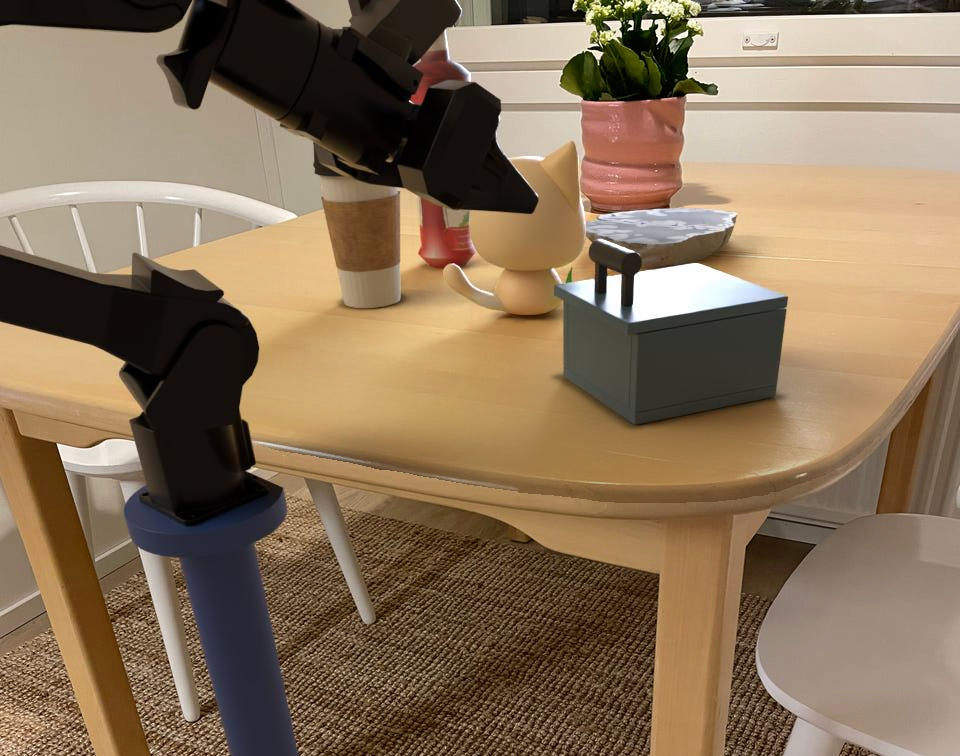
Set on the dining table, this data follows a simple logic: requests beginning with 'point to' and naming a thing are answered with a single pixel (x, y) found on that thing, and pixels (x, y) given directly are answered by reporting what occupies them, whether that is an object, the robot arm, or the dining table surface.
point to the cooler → (674, 363)
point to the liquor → (438, 225)
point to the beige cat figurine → (529, 238)
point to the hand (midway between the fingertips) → (500, 196)
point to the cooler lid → (661, 293)
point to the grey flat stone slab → (666, 233)
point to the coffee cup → (363, 237)
